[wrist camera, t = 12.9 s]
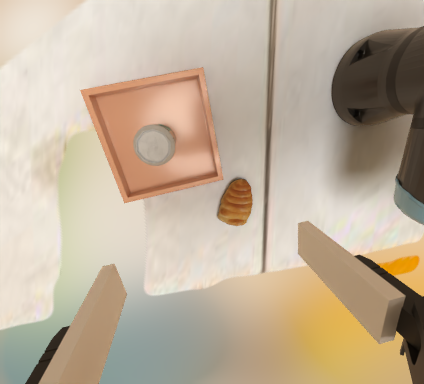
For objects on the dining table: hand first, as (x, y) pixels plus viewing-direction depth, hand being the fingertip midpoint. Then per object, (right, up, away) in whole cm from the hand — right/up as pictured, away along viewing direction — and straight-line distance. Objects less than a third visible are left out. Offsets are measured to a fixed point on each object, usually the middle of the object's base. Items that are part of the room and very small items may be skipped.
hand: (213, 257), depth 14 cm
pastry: (+4, +3, +27) cm, 28 cm away
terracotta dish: (-9, +14, +20) cm, 26 cm away
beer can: (-9, +14, +20) cm, 26 cm away
